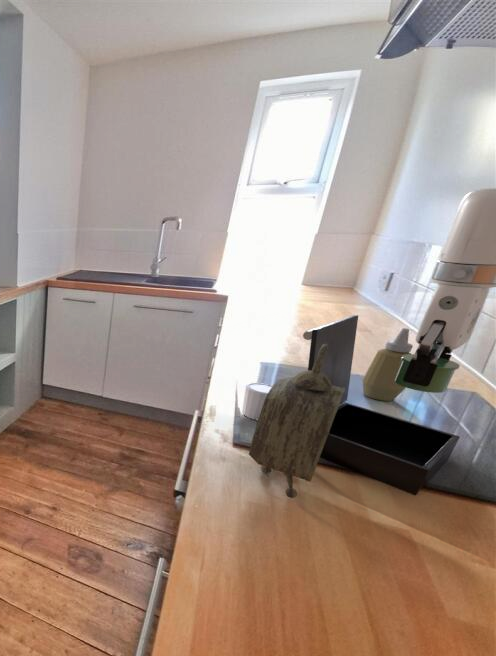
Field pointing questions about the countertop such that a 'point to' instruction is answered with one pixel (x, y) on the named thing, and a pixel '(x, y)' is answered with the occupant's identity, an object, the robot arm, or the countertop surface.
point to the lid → (334, 350)
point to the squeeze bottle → (387, 369)
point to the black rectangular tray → (387, 447)
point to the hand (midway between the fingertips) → (422, 377)
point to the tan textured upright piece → (296, 423)
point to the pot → (439, 378)
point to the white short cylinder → (254, 399)
